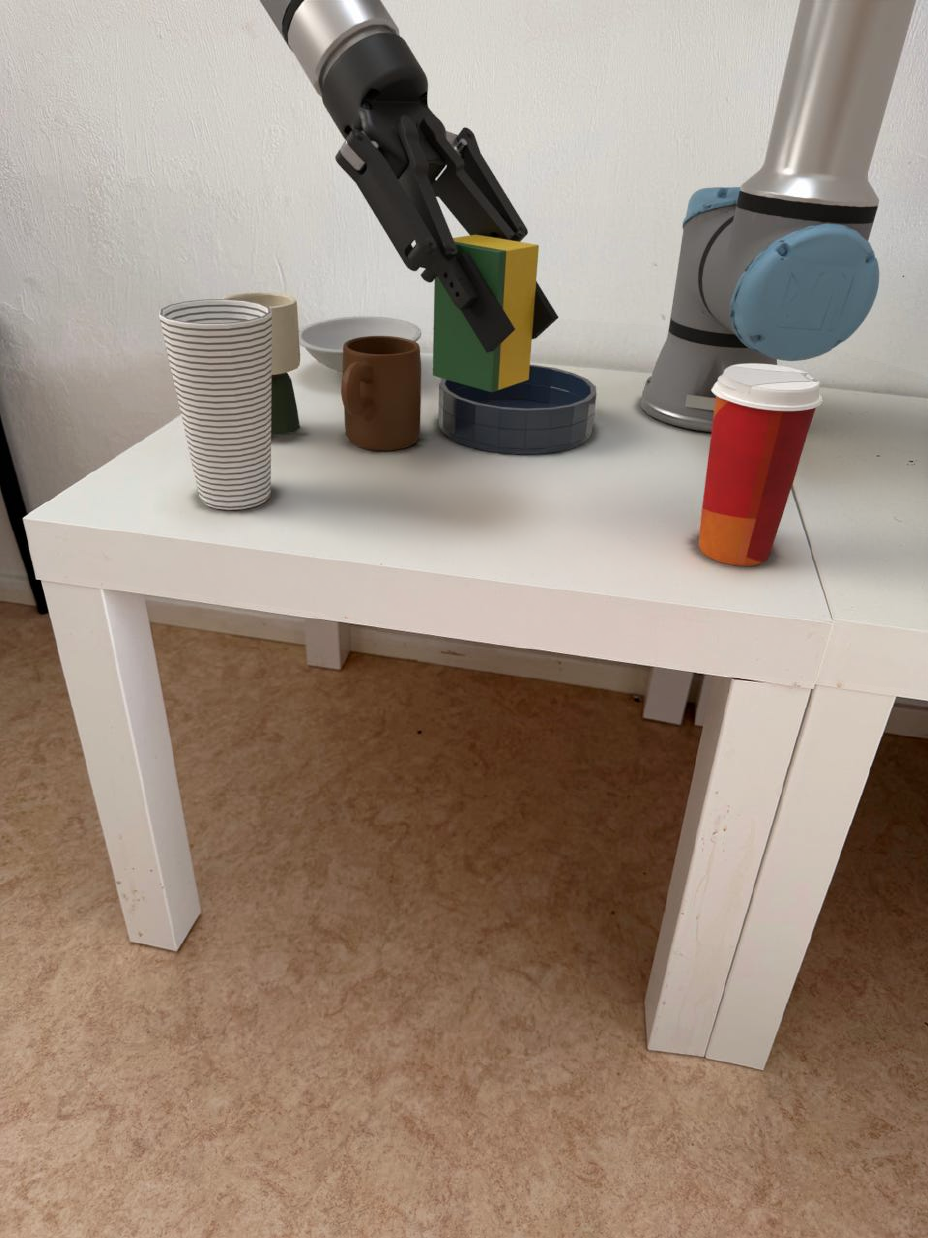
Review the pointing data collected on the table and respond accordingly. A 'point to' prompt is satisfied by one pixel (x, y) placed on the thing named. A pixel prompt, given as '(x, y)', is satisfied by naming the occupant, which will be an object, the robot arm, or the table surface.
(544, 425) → the bowl
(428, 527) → the table surface
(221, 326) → the cup
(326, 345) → the dish
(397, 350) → the mug
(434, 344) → the sponge
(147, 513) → the table surface
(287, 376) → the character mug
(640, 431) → the table surface
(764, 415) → the paper cup
